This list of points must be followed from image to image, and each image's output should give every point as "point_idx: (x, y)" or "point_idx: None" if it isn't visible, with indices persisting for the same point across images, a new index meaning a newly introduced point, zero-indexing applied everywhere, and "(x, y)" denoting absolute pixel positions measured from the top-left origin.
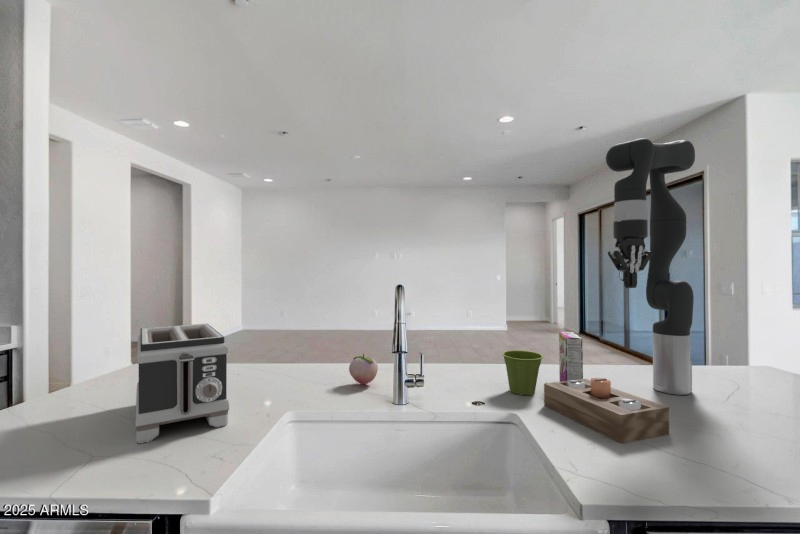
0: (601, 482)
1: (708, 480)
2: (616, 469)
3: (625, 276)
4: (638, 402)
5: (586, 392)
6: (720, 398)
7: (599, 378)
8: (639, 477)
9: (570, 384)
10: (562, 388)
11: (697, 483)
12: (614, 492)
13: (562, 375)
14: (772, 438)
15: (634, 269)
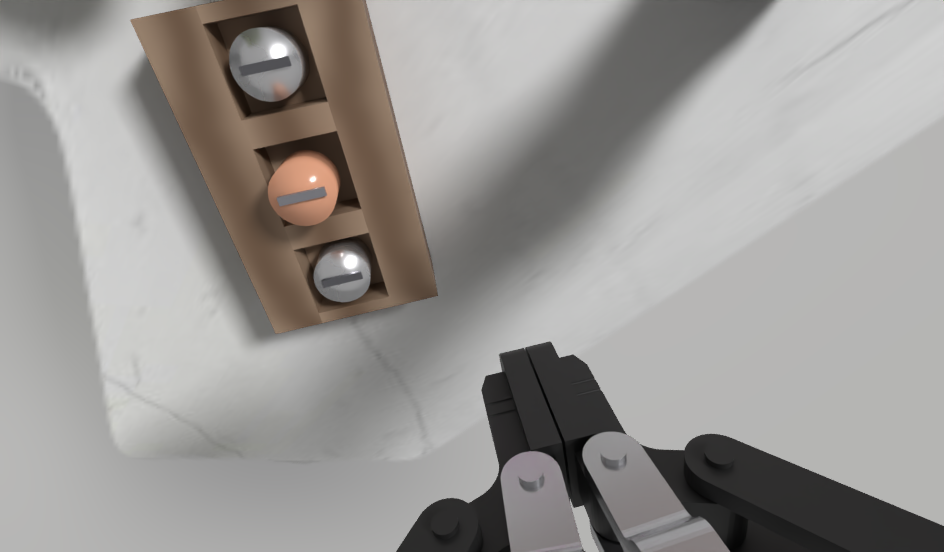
0: (170, 415)
1: (357, 413)
2: (219, 383)
3: (499, 454)
4: (364, 284)
5: (275, 143)
6: (818, 44)
7: (311, 172)
8: (247, 404)
9: (235, 78)
10: (192, 100)
11: (332, 419)
12: (179, 437)
13: None
14: (626, 296)
15: (598, 539)
